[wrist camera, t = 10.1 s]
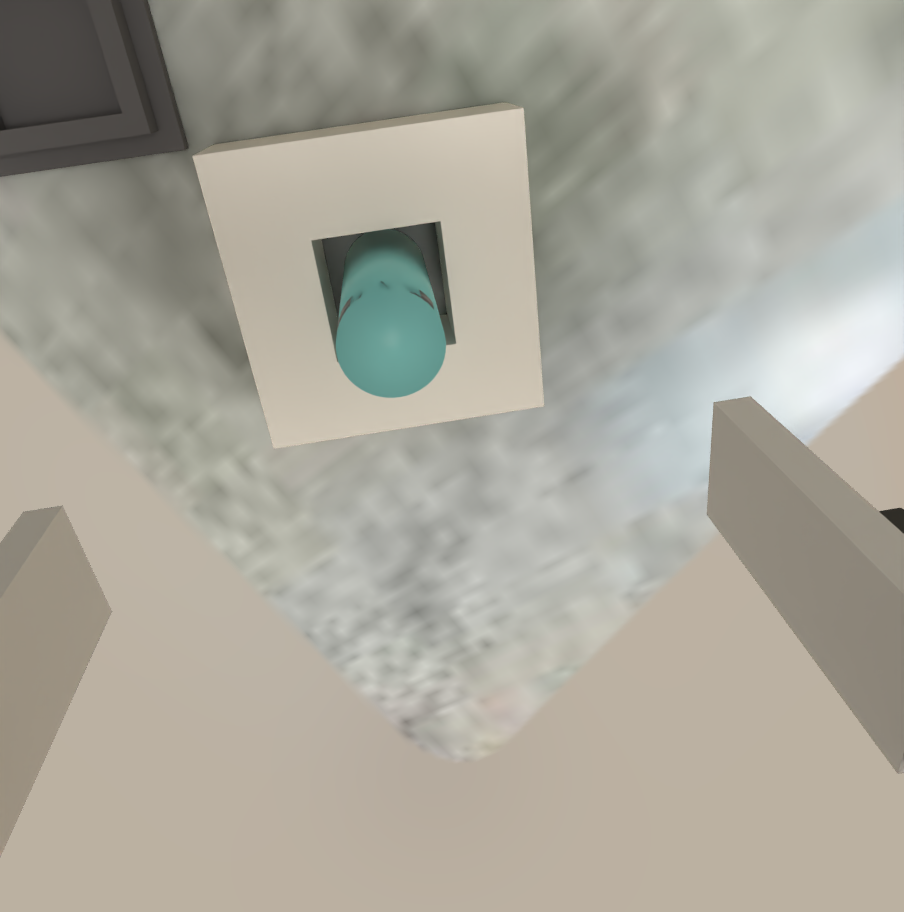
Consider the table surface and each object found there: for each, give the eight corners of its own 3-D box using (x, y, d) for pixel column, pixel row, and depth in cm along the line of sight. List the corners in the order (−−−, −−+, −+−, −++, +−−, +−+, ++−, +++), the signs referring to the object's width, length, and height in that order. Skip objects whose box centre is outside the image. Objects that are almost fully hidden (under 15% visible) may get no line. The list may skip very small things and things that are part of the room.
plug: (337, 235, 32) (325, 302, 23) (418, 223, 32) (438, 285, 23) (352, 314, 33) (347, 405, 25) (430, 302, 33) (452, 388, 25)
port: (213, 144, 29) (191, 155, 26) (505, 102, 30) (523, 107, 26) (283, 410, 35) (273, 448, 32) (526, 372, 36) (544, 406, 32)
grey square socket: (-111, -66, 25) (-142, -74, 24) (120, -96, 26) (103, -107, 24) (-11, 176, 29) (-33, 183, 28) (188, 148, 29) (178, 152, 28)
